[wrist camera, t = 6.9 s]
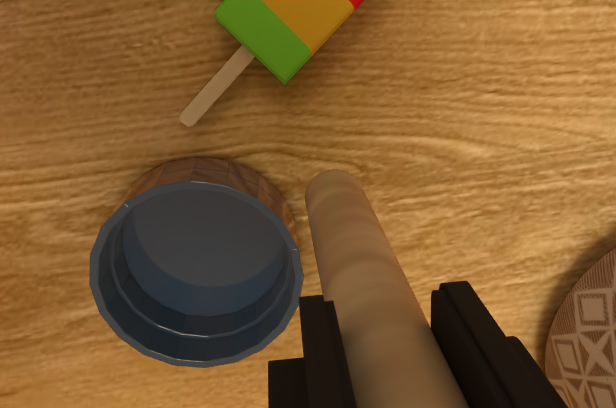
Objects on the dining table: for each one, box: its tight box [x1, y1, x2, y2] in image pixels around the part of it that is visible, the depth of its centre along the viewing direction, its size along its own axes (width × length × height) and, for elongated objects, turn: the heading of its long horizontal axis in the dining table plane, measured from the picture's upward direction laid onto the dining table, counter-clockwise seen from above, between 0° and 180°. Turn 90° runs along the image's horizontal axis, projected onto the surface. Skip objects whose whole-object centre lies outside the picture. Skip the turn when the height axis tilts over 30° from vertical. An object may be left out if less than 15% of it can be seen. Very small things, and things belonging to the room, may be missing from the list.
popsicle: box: [179, 0, 364, 127], centre depth 31 cm, size 6×15×2 cm, turn 136°
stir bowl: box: [89, 157, 304, 368], centre depth 34 cm, size 12×12×5 cm
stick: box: [305, 169, 469, 408], centre depth 14 cm, size 2×2×15 cm
